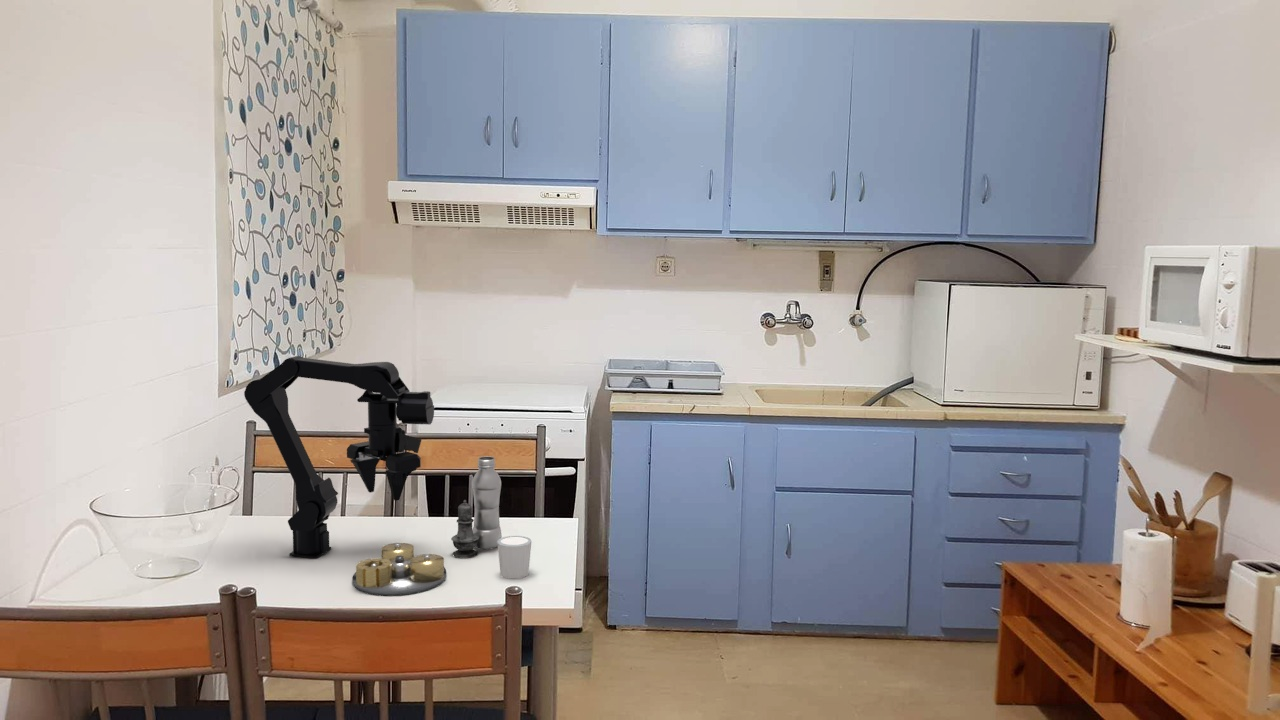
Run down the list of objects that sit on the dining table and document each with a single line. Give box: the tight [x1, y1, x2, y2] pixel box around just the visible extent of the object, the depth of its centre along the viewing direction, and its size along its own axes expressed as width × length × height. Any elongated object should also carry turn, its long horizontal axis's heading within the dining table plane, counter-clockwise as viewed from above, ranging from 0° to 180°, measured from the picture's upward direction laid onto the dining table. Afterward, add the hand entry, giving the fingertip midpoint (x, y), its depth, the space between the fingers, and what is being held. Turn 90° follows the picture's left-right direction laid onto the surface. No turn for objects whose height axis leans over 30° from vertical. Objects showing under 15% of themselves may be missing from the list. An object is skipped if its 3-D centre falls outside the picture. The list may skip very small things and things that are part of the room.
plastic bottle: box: [471, 455, 503, 550], centre depth 206 cm, size 6×7×20 cm
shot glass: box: [497, 535, 532, 580], centre depth 191 cm, size 7×7×7 cm
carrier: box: [352, 542, 447, 597], centre depth 187 cm, size 18×18×5 cm
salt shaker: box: [450, 499, 479, 559], centre depth 202 cm, size 6×6×12 cm
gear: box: [355, 557, 392, 588], centre depth 183 cm, size 6×6×4 cm
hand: (383, 496), depth 199 cm, fingers open, 9 cm apart
